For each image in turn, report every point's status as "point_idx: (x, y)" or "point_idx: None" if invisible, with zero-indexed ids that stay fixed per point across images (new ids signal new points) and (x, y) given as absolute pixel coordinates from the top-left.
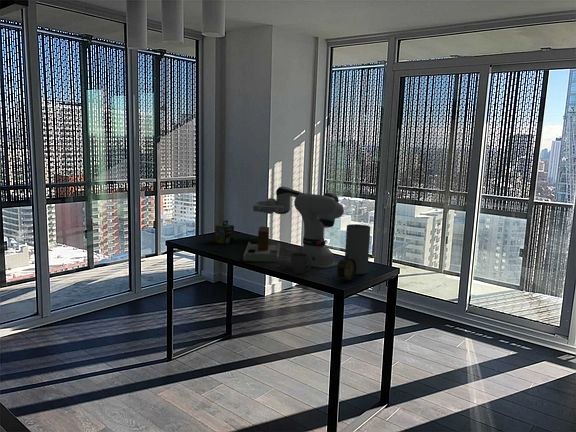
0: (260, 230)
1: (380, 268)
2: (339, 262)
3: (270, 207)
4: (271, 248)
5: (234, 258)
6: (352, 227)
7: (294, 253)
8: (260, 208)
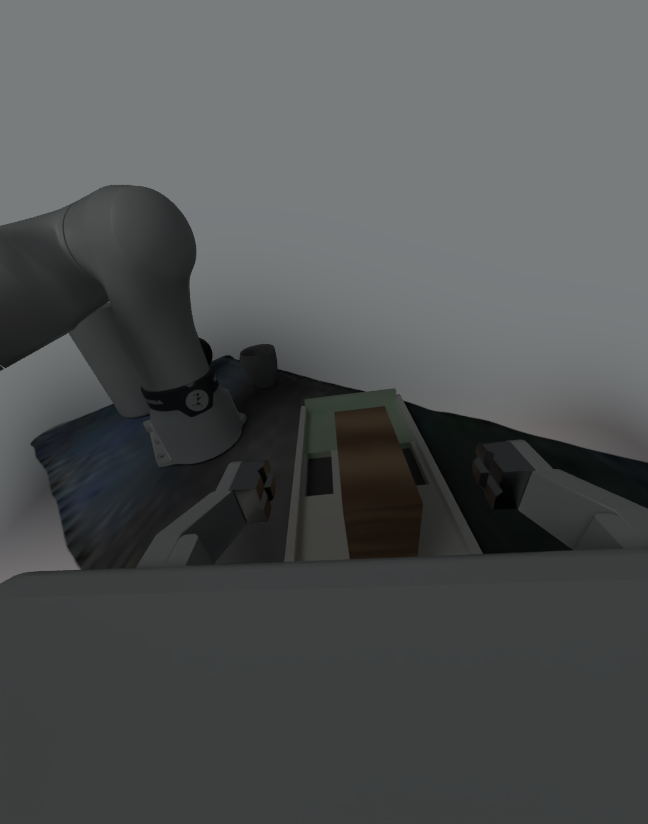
0: (378, 416)
1: (70, 432)
2: (202, 339)
3: (329, 565)
4: (330, 520)
5: (434, 416)
6: (90, 320)
7: (264, 354)
8: (533, 470)
